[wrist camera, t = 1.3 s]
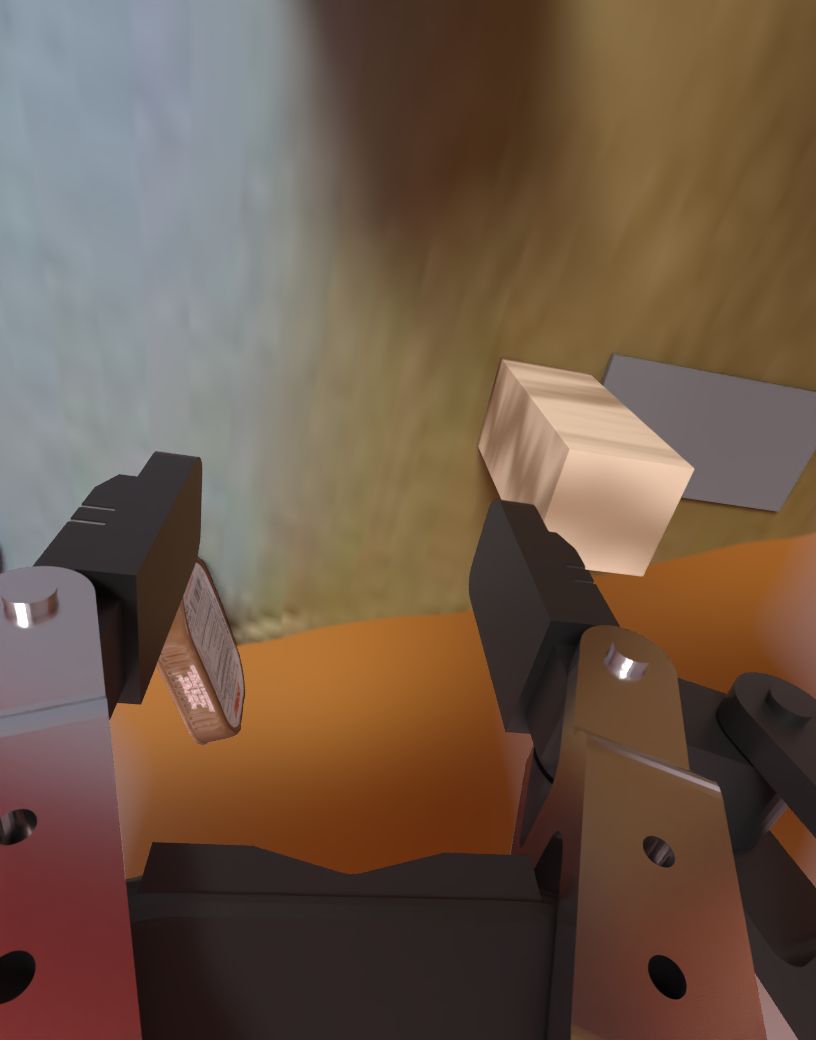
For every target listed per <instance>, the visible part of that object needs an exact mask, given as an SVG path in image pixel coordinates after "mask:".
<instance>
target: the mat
mask: <svg viewBox="0 0 816 1040" xmlns="http://www.w3.org/2000/svg"><path fill="white" fill-rule="evenodd" d="M601 385H602V386H604V387H605V388H606V389H607V390H608V391H609V392H610V393H611V394H612V395H614V396H615V397H616V398H617V399H618V400H619V401H620V402H621V403H622V404H624V405H625V406H626V407H627V408H628V409H629V410H630V411H631V412H632V413H633V414H635V415H636V416H637V417H638V418H639V419H640V420H641V421H642V422H643V423H645V424H646V425H647V426H648V427H649V428H650V429H651V430H652V431H653V432H655V433H656V434H657V435H658V436H659V437H660V438H661V439H662V440H663V441H664V442H666V443H667V444H668V445H669V446H670V447H671V448H672V449H673V450H674V451H676V452H677V453H678V454H679V455H680V456H681V457H682V458H683V459H684V460H685V461H687V462H688V463H689V464H690V465H691V466H692V467H693V468H694V471H693V473H692V476H691V478H690V480H689V482H688V484H687V486H686V488H685V490H684V492H683V494H682V496H681V497H682V498H689V499H696V500H702V501H709V502H716V503H723V504H730V505H736V506H743V507H750V508H757V509H764V510H770V511H777V512H779V511H780V509H781V508H782V506H783V504H784V502H785V501H786V499H787V497H788V496H789V494H790V492H791V490H792V489H793V487H794V485H795V484H796V482H797V480H798V478H799V477H800V475H801V473H802V472H803V470H804V468H805V466H806V465H807V463H808V461H809V460H810V458H811V456H812V454H813V453H814V451H815V449H816V392H815V391H810V390H805V389H799V388H794V387H788V386H783V385H778V384H772V383H767V382H762V381H756V380H751V379H746V378H740V377H735V376H730V375H724V374H719V373H714V372H708V371H703V370H698V369H692V368H687V367H681V366H676V365H671V364H665V363H660V362H655V361H649V360H644V359H639V358H633V357H628V356H623V355H617V354H612V355H611V358H610V361H609V363H608V366H607V369H606V372H605V374H604V377H603V380H602V382H601Z"/></svg>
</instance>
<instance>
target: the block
mask: <svg viewBox="0 0 816 1040" xmlns="http://www.w3.org/2000/svg"><path fill="white" fill-rule="evenodd" d="M477 445H478V447H479V450H480V452H481V454H482V456H483V459H484V461H485V463H486V466H487V468H488V470H489V472H490V475H491V477H492V479H493V482H494V484H495V486H496V488H497V491H498V493H499V495H500V498H501V500H506V501H514V502H521V503H528V504H533V505H535V507H536V508H537V510H538V512H539V514H540V516H541V518H542V519H543V521H544V523H545V525H546V527H547V529H548V531H549V532H557V533H558V534H559V535H560V536H561V537H562V538H564V539H565V540H566V541H567V542H568V543H569V544H571V545H572V546H573V547H574V548H575V549H576V551H577V552H578V554H579V556H580V558H581V559H582V561H583V563H584V565H585V569H586V570H594V571H603V572H611V573H619V574H627V575H636V576H643V575H644V573H645V571H646V569H647V567H648V565H649V563H650V561H651V559H652V557H653V554H654V552H655V550H656V548H657V546H658V544H659V542H660V540H661V538H662V536H663V534H664V532H665V530H666V527H667V525H668V523H669V521H670V519H671V517H672V515H673V513H674V511H675V509H676V507H677V505H678V503H679V500H680V498H681V496H682V494H683V492H684V490H685V488H686V486H687V484H688V482H689V480H690V478H691V476H692V473H693V471H694V468H693V467H692V466H691V465H690V464H689V463H688V462H687V461H685V460H684V459H683V458H682V457H681V456H680V455H679V454H678V453H677V452H676V451H674V450H673V449H672V448H671V447H670V446H669V445H668V444H667V443H666V442H664V441H663V440H662V439H661V438H660V437H659V436H658V435H657V434H656V433H655V432H653V431H652V430H651V429H650V428H649V427H648V426H647V425H646V424H645V423H643V422H642V421H641V420H640V419H639V418H638V417H637V416H636V415H635V414H633V413H632V412H631V411H630V410H629V409H628V408H627V407H626V406H625V405H624V404H622V403H621V402H620V401H619V400H618V399H617V398H616V397H615V396H614V395H612V394H611V393H610V392H609V391H608V390H607V389H606V388H605V387H604V386H602V385H601V384H600V383H599V382H598V381H597V380H596V379H595V378H594V377H593V376H591V375H590V374H589V373H583V372H578V371H572V370H567V369H561V368H556V367H550V366H544V365H539V364H533V363H528V362H522V361H517V360H511V359H505V358H501V360H500V363H499V367H498V370H497V374H496V378H495V381H494V385H493V389H492V392H491V396H490V400H489V403H488V407H487V411H486V414H485V418H484V422H483V425H482V429H481V432H480V436H479V440H478V443H477Z"/></svg>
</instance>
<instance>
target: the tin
mask: <svg viewBox="0 0 816 1040" xmlns="http://www.w3.org/2000/svg"><path fill="white" fill-rule="evenodd" d="M157 667H158V669H159V671H160V673H161V675H162V678H163V680H164V681H165V684H166V686H167V688H168V690H169V692H170V694H171V696H172V698H173V700H174V702H175V705H176V706H177V709H178V711H179V713H180V715H181V717H182V719H183V721H184V723H185V726H186V728H187V730H188V732H189V734H190V735H191V737H192V739H194V741H196V742H197V743H198V744H202V745H204V744H207V743H208V742H211V741H216V740H220V739H225V738H229V737H232V736H234V735H236V734H238V732H239V731H240V730H241V720H242V712H243V703H244V698H245V685H244V675H243V669H242V664H241V659H240V655H239V652H238V649H237V646H236V643H235V640H234V638H233V635H232V632H231V630H230V627H229V624H228V621H227V619H226V616H225V613H224V611H223V608H222V605H221V603H220V600H219V598H218V595H217V592H216V590H215V587H214V585H213V582H212V580H211V577H210V575H209V573H208V570H207V568H206V566H205V565H204V563H203V562H202V561H201V559H200V558H199V557H198V556H197V560H196V564H195V567H194V570H193V572H192V575H191V577H190V580H189V582H188V585H187V588H186V590H185V593H184V595H183V598H182V600H181V603H180V606H179V608H178V611H177V613H176V616H175V618H174V621H173V624H172V626H171V629H170V631H169V634H168V636H167V639H166V642H165V644H164V647H163V649H162V652H161V654H160V657H159V660H158V662H157Z"/></svg>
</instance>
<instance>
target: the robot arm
mask: <svg viewBox="0 0 816 1040" xmlns="http://www.w3.org/2000/svg"><path fill="white" fill-rule="evenodd" d="M201 497H202V462H201V458H200V457H194V456H187V455H179V454H172V453H165V452H158V451H156V452H154V453H153V455H152V456H151V458H150V459H149V461H148V462H147V464H146V465H145V467H144V468H143V469H142V471H141V472H140V474H139V475H138V477H136V476H128V475H120V474H119V475H117V476H115V477H113V478H111V479H110V480H108V481H106V482H104V483H102V484H100V485H98V486H96V487H95V488H94V489H93V490H92V492H91V493H90V494H89V495H88V497H87V498H86V499H85V500H84V502H83V503H82V507H79V508H78V509H77V511H76V512H75V513H74V514H73V516H72V517H71V521H70V522H67V523H66V525H65V526H64V527H63V528H62V530H61V531H60V532H59V533H58V535H57V536H56V537H55V539H54V540H53V541H52V542H51V544H50V545H49V546H48V547H47V549H46V550H45V551H44V553H43V554H42V555H41V556H40V558H39V559H38V560H37V561H36V563H35V564H34V565H33V566H32V567H26V568H20V569H15V570H11V571H8V572H4V573H1V574H0V1040H767V1037H766V1031H765V1026H764V1020H763V1014H762V1009H761V1004H760V999H759V993H758V987H757V982H756V977H755V974H756V975H757V977H758V978H759V980H760V981H761V983H762V984H763V986H764V987H765V989H766V990H767V992H768V994H769V995H770V997H771V998H772V1000H773V1001H774V1003H775V1004H776V1006H777V1007H778V1009H779V1010H780V1012H781V1013H782V1015H783V1017H784V1018H785V1020H786V1021H787V1023H788V1024H789V1026H790V1027H791V1029H792V1030H793V1032H794V1033H795V1035H796V1037H797V1038H798V1040H816V888H815V886H814V885H813V884H812V883H811V882H810V880H809V879H808V878H807V876H806V875H805V874H804V873H803V871H802V870H801V869H800V868H799V866H798V865H797V864H796V863H795V862H794V860H793V859H792V858H791V857H790V855H789V854H788V853H787V852H786V850H785V849H784V848H783V846H782V845H781V844H780V843H779V841H778V840H777V839H776V838H775V837H774V835H773V834H772V833H771V832H770V830H769V829H770V828H771V827H772V826H773V825H774V823H775V822H776V821H777V820H778V819H779V817H780V816H781V815H782V814H783V812H784V811H785V810H786V809H787V808H788V806H789V808H790V809H791V810H792V811H793V812H794V813H795V815H796V816H797V817H798V818H799V819H800V820H801V822H802V823H803V824H804V825H805V826H806V827H807V828H808V830H809V831H810V832H811V833H812V834H813V835H814V837H815V838H816V700H815V699H814V698H813V697H812V696H810V695H809V694H807V693H806V692H805V691H803V690H801V689H800V688H798V687H796V686H795V685H793V684H791V683H789V682H787V681H785V680H782V679H780V678H777V677H775V676H772V675H768V674H764V673H757V672H749V673H744V674H742V675H740V676H739V677H738V678H737V679H736V680H735V682H734V683H733V685H732V686H731V688H730V689H729V691H728V692H727V694H725V693H722V692H719V691H716V690H713V689H710V688H707V687H704V686H701V685H698V684H695V683H692V682H689V681H686V680H683V679H680V678H678V677H677V673H676V669H675V667H674V665H673V663H672V662H671V660H670V658H669V657H668V656H667V655H666V654H665V652H664V651H663V650H661V649H660V648H659V647H658V646H657V645H656V644H654V643H653V642H651V641H650V640H648V639H647V638H645V637H644V636H642V635H640V634H638V633H636V632H633V631H631V630H628V629H625V628H622V627H620V626H619V624H618V622H617V621H616V619H615V617H614V615H613V614H612V612H611V610H610V608H609V607H608V605H607V603H606V601H605V600H604V598H603V596H602V594H601V593H600V591H599V589H598V587H597V586H596V584H593V582H594V580H593V579H592V577H591V575H590V573H589V572H588V570H585V565H584V563H583V561H582V559H581V558H580V556H579V554H578V552H577V551H576V549H575V548H574V547H573V546H572V545H571V544H569V543H568V542H567V541H566V540H565V539H564V538H562V537H561V536H560V535H559V534H558V533H557V532H549V531H548V529H547V527H546V525H545V523H544V521H543V519H542V518H541V516H540V514H539V512H538V510H537V508H536V507H535V505H533V504H528V503H521V502H514V501H506V500H499V499H495V500H494V501H493V502H492V504H491V505H490V508H489V510H488V513H487V517H486V520H485V523H484V526H483V530H482V533H481V536H480V540H479V543H478V546H477V550H476V553H475V556H474V559H473V563H472V566H471V571H470V578H469V595H470V600H471V604H472V608H473V611H474V615H475V619H476V623H477V626H478V630H479V634H480V638H481V641H482V645H483V649H484V652H485V656H486V660H487V663H488V668H489V671H490V675H491V679H492V682H493V686H494V690H495V694H496V698H497V701H498V705H499V709H500V713H501V716H502V720H503V724H504V728H505V731H506V732H514V733H515V732H516V733H528V734H529V733H530V734H531V737H532V740H533V743H534V744H533V746H532V749H531V751H530V753H529V755H528V758H527V761H526V764H525V771H524V776H523V782H522V789H521V794H520V800H519V806H518V812H517V818H516V824H515V831H514V836H513V842H512V848H511V854H510V855H497V854H469V853H441V854H438V855H433V856H429V857H425V858H421V859H417V860H413V861H409V862H405V863H401V864H397V865H393V866H388V867H384V868H380V869H376V870H372V871H369V872H364V873H360V874H345V873H341V872H337V871H334V870H331V869H327V868H324V867H321V866H317V865H314V864H311V863H308V862H304V861H301V860H298V859H295V858H291V857H288V856H285V855H281V854H278V853H275V852H271V851H268V850H265V849H261V848H258V847H255V846H244V845H214V844H188V843H159V842H153V843H152V846H151V849H150V853H149V856H148V860H147V863H146V866H145V870H144V873H143V875H142V876H138V877H133V878H130V879H125V869H124V860H123V850H122V840H121V831H120V822H119V811H118V802H117V792H116V782H115V772H114V762H113V753H112V744H111V733H110V724H109V720H110V718H111V716H112V714H113V711H114V709H115V707H116V704H117V703H128V704H141V703H142V701H143V698H144V695H145V693H146V690H147V688H148V685H149V683H150V680H151V677H152V675H153V672H154V670H155V667H156V665H157V662H158V660H159V657H160V654H161V652H162V649H163V647H164V644H165V642H166V639H167V636H168V634H169V631H170V629H171V626H172V624H173V621H174V618H175V616H176V613H177V611H178V608H179V606H180V603H181V600H182V598H183V595H184V593H185V590H186V588H187V585H188V582H189V580H190V577H191V575H192V572H193V570H194V567H195V564H196V560H197V556H198V550H199V544H200V532H201Z"/></svg>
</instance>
